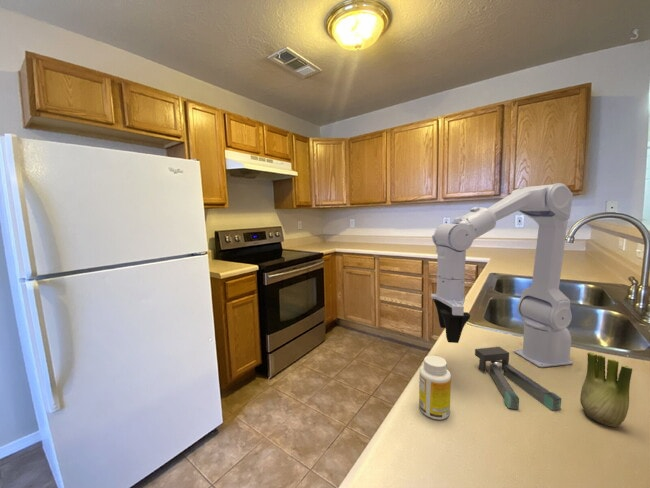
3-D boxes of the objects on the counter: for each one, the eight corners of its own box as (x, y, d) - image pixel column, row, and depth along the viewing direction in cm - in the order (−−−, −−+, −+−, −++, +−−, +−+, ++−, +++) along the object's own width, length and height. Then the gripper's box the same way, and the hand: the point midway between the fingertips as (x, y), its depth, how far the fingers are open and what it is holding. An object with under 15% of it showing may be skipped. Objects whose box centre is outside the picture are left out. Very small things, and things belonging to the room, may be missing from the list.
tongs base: (500, 366, 68) (501, 357, 67) (560, 409, 53) (561, 398, 53) (487, 368, 67) (488, 358, 67) (544, 412, 52) (545, 400, 52)
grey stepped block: (498, 362, 69) (499, 346, 69) (508, 369, 66) (509, 352, 66) (474, 365, 68) (475, 348, 68) (483, 372, 65) (484, 355, 65)
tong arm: (496, 373, 65) (496, 364, 64) (518, 409, 53) (519, 398, 53) (487, 372, 65) (488, 363, 65) (507, 407, 53) (508, 397, 53)
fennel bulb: (630, 432, 47) (638, 366, 46) (599, 431, 48) (606, 365, 46) (600, 408, 53) (606, 349, 52) (572, 407, 53) (578, 348, 52)
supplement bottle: (455, 411, 53) (457, 361, 52) (440, 426, 49) (442, 372, 48) (428, 397, 57) (429, 350, 56) (413, 409, 54) (414, 359, 53)
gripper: (426, 269, 70) (425, 321, 72) (438, 284, 56) (436, 348, 58) (456, 270, 69) (454, 322, 70) (476, 285, 55) (473, 350, 56)
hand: (448, 334), depth 64 cm, fingers open, 7 cm apart
